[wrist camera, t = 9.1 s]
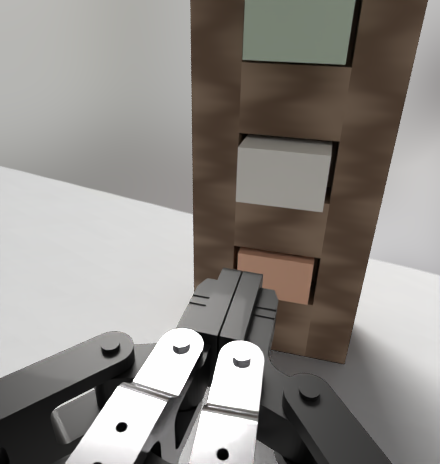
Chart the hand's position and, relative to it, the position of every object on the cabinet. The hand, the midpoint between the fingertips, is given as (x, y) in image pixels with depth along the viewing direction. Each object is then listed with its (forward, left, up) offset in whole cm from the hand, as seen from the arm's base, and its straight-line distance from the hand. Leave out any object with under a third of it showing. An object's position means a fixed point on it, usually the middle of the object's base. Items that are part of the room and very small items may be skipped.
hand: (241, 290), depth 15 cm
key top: (-4, +11, +7) cm, 14 cm away
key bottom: (-4, +12, -9) cm, 16 cm away
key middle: (-4, +11, -1) cm, 12 cm away
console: (-5, +14, -14) cm, 21 cm away
